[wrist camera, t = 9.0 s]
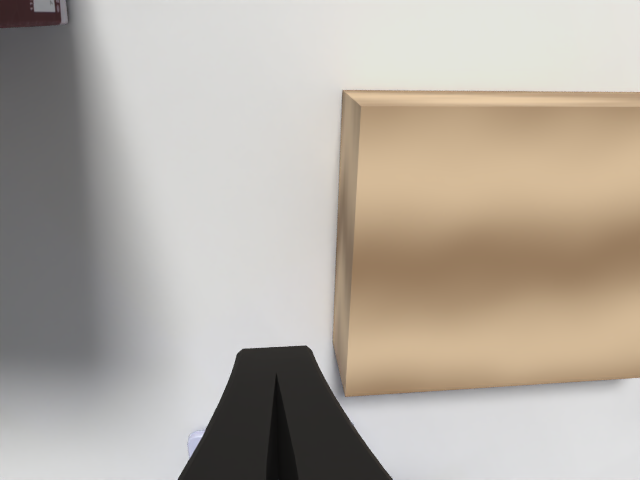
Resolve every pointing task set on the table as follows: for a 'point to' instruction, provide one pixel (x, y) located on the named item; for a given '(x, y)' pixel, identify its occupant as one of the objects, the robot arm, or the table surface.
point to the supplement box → (32, 13)
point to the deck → (487, 239)
